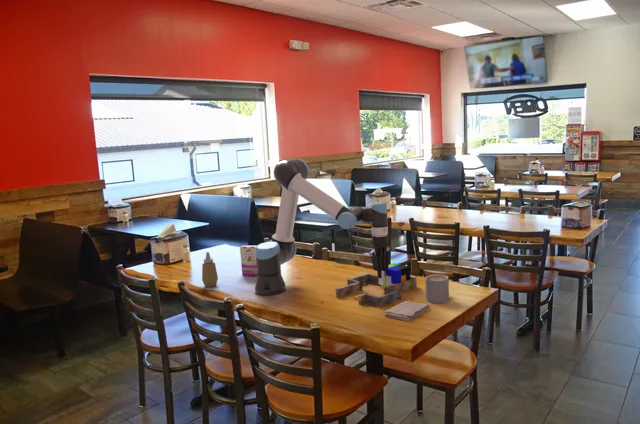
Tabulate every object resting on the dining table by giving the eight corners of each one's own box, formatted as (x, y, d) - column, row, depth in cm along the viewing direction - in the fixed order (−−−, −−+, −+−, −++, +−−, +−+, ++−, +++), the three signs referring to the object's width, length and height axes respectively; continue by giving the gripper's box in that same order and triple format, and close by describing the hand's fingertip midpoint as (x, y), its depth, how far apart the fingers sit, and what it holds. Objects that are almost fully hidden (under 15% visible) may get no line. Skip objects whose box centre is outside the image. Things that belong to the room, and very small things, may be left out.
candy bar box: (264, 274, 291) (261, 245, 289) (259, 276, 286) (257, 247, 284) (246, 273, 295) (244, 244, 293) (241, 275, 291) (239, 246, 288)
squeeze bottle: (221, 284, 276) (218, 250, 274) (212, 288, 269) (209, 254, 266) (209, 283, 280) (205, 250, 277) (199, 287, 273) (196, 253, 270)
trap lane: (372, 309, 226) (372, 297, 225) (326, 293, 251) (325, 283, 250) (428, 290, 247) (428, 279, 247) (380, 277, 273) (380, 267, 272)
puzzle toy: (396, 291, 248) (396, 270, 246) (381, 287, 256) (380, 267, 254) (410, 286, 254) (410, 266, 253) (395, 282, 262) (394, 263, 260)
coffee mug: (443, 304, 227) (443, 281, 225) (422, 301, 233) (421, 279, 231) (455, 295, 238) (454, 273, 236) (434, 292, 243) (434, 271, 242)
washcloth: (383, 317, 217) (383, 310, 216) (405, 305, 230) (404, 298, 230) (408, 323, 209) (408, 315, 209) (430, 309, 223) (429, 302, 222)
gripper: (375, 238, 240) (377, 288, 244) (395, 234, 248) (397, 282, 251) (364, 236, 246) (366, 285, 249) (384, 232, 254) (385, 279, 257)
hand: (381, 284), depth 250 cm, fingers closed
